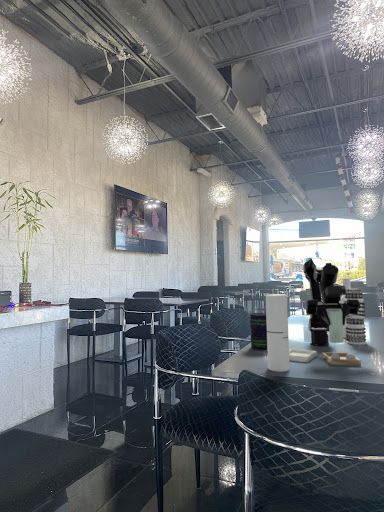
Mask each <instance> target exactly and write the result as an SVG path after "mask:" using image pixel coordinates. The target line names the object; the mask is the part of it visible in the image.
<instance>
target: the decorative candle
mask: <svg viewBox="0 0 384 512" xmlns="http://www.w3.org/2000/svg"><path fill="white" fill-rule="evenodd" d="M363 293H364V291H363V290H362V289H361V288H351V289H347V290H346V293H345V301H344V303H343V304H346V302H347V299H357V300H359V302H360V307H359V310H358V313H357V314H349V315H347V316H346V328H345V329H347V330H346V333H347V334H346V337H347V338H346V339H345V341H346V342H345V343H346V344H349V345H359V346H361V345H366V344H367V342H366V341H367V335H366V333H367V331H366V329H367V328H366V324H365V318H366V314H365V313H366V311H365V310H364V309H366V307H365V305H366V303H364V301H365V300H364V297H363V296H364V294H363Z"/></svg>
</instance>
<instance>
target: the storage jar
mask: <svg viewBox="0 0 384 512" xmlns="http://www.w3.org/2000/svg"><path fill="white" fill-rule="evenodd" d="M249 316H250V317H249V318H250V319H249V323H250V324H249V326H250V345H251V346H250V349H251V350H254V351H264V352H266V351H267V321H266V312H253V313H250V314H249Z"/></svg>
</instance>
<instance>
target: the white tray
mask: <svg viewBox="0 0 384 512" xmlns="http://www.w3.org/2000/svg"><path fill="white" fill-rule="evenodd" d="M317 356H318V355H317V350H313V349H312V350H311V349H302V348H301V349H299V348H289V362H290V361H292V362H300V363H307V364H308V363H310V362H311V361H313V360H314V359H316V358H317Z"/></svg>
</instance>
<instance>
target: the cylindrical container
mask: <svg viewBox="0 0 384 512" xmlns="http://www.w3.org/2000/svg"><path fill="white" fill-rule="evenodd" d="M288 311H289V310H288V294H281V293H277V294H276V293H275V294H265V313H266V321H267V350H266V351H267V369H268V370H270V371H271V372H272V371H273V372H281V373H282V372H289V371H290V369H291V366H290V365H291V364H290V360H289V349H290V342H289V341H290V340H289V318H288V317H289V315H288V313H289V312H288Z"/></svg>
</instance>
